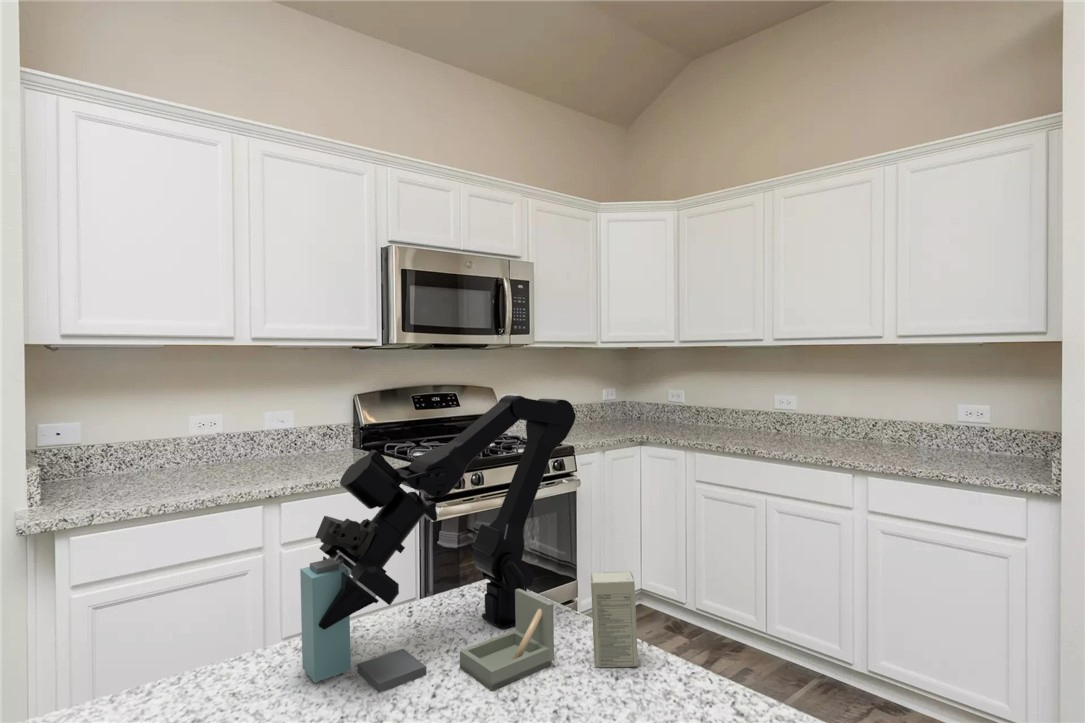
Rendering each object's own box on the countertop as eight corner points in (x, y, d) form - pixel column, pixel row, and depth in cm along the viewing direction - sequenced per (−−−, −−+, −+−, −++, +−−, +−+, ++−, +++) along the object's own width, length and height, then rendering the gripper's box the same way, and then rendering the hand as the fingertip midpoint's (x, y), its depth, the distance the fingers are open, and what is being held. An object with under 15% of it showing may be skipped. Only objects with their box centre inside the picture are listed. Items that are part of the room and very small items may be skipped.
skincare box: (634, 653, 88) (633, 570, 88) (638, 668, 84) (637, 581, 84) (591, 653, 88) (590, 570, 88) (593, 668, 84) (591, 581, 84)
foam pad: (403, 656, 88) (403, 648, 88) (426, 674, 83) (426, 666, 83) (357, 672, 84) (357, 664, 84) (378, 693, 78) (378, 683, 78)
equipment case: (520, 644, 91) (519, 588, 92) (554, 663, 85) (553, 603, 85) (459, 668, 85) (459, 607, 85) (492, 691, 78) (491, 625, 79)
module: (337, 656, 87) (335, 555, 87) (350, 669, 83) (348, 563, 83) (302, 668, 84) (300, 563, 84) (314, 682, 80) (311, 572, 80)
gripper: (332, 485, 94) (256, 570, 87) (374, 506, 78) (287, 611, 72) (381, 526, 98) (313, 611, 92) (430, 554, 83) (353, 657, 76)
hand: (315, 620), depth 83 cm, fingers closed on module, 5 cm apart
